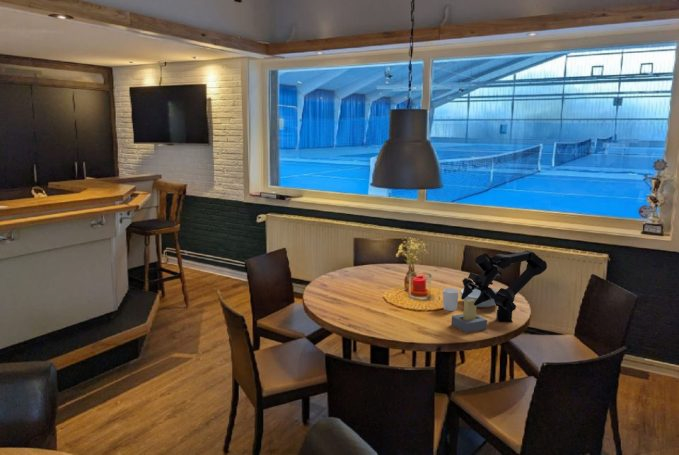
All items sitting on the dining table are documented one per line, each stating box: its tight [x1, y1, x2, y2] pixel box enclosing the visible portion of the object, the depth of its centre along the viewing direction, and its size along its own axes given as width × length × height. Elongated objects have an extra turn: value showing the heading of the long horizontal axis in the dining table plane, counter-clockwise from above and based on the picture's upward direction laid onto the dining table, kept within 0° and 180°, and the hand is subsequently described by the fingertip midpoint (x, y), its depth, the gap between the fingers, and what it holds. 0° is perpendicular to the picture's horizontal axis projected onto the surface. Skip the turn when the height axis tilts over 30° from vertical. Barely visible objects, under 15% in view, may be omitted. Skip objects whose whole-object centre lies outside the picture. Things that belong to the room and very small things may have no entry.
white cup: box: [442, 287, 460, 312], centre depth 269 cm, size 8×8×10 cm
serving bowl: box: [460, 288, 499, 308], centre depth 277 cm, size 21×21×7 cm
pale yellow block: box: [462, 299, 478, 321], centre depth 245 cm, size 5×3×13 cm, turn 114°
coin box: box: [451, 313, 488, 334], centre depth 246 cm, size 12×11×4 cm
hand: (467, 302), depth 243 cm, fingers open, 9 cm apart
